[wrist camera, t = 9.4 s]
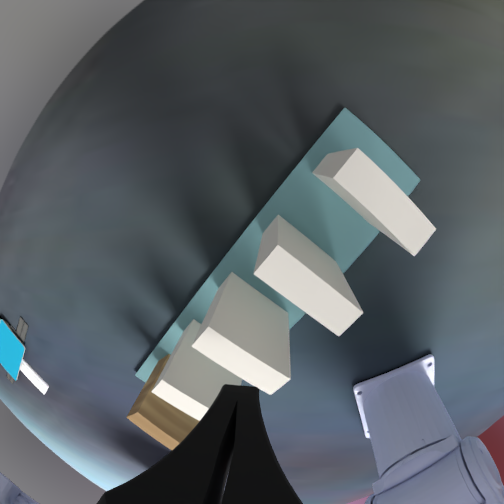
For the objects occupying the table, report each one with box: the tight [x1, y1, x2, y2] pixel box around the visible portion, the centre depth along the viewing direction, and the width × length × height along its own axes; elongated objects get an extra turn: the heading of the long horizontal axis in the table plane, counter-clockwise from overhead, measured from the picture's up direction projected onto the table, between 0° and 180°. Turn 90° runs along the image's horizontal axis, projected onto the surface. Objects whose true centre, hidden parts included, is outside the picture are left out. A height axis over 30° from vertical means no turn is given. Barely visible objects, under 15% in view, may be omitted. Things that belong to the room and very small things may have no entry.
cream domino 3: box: [253, 215, 363, 336], centre depth 15 cm, size 2×5×7 cm, turn 53°
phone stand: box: [0, 317, 49, 395], centre depth 27 cm, size 20×12×2 cm, turn 136°
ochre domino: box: [127, 354, 199, 450], centre depth 20 cm, size 2×5×7 cm, turn 41°
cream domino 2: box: [192, 272, 291, 395], centre depth 17 cm, size 2×5×7 cm, turn 53°
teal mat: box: [135, 108, 420, 382], centre depth 20 cm, size 28×7×1 cm, turn 143°
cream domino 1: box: [151, 319, 242, 421], centre depth 18 cm, size 2×5×7 cm, turn 53°
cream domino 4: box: [312, 148, 436, 256], centre depth 14 cm, size 2×5×7 cm, turn 53°
